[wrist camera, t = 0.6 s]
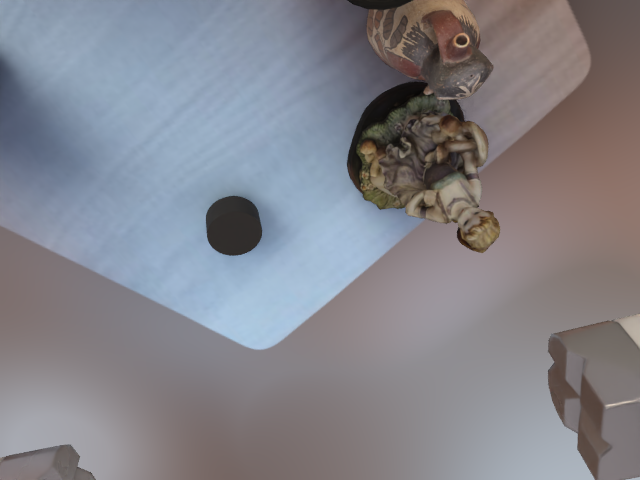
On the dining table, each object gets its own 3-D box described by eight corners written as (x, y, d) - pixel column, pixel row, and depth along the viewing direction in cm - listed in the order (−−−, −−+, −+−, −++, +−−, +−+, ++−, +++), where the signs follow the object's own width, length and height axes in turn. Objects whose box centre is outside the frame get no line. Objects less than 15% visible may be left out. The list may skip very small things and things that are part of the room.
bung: (194, 202, 52) (195, 230, 49) (237, 175, 51) (241, 202, 48) (224, 235, 55) (228, 264, 51) (266, 210, 54) (272, 237, 51)
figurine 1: (372, 73, 48) (420, 142, 38) (357, -16, 43) (408, 37, 34) (456, 49, 48) (524, 112, 39) (449, -42, 44) (525, 3, 34)
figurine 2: (409, 58, 48) (485, 144, 36) (490, 127, 53) (578, 222, 42) (317, 164, 52) (358, 272, 40) (400, 218, 57) (458, 327, 46)
